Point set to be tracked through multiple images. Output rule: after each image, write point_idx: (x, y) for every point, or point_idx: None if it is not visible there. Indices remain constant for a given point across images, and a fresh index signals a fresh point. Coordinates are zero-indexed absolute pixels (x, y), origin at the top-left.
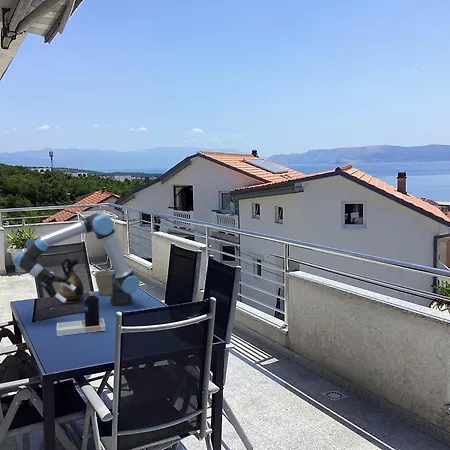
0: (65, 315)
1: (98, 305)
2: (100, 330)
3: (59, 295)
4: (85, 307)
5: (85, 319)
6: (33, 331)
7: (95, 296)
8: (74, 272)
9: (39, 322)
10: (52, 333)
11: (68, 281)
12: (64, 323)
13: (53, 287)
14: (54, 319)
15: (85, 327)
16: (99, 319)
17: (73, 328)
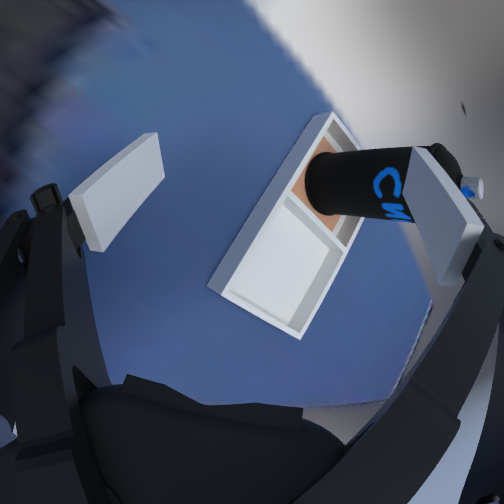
0: (38, 112)
1: None
2: None
3: (111, 186)
4: (407, 221)
5: (353, 215)
6: (149, 378)
7: (461, 173)
8: None
9: None
10: (238, 327)
11: (486, 231)
12: (244, 262)
13: (64, 281)
14: None
15: (354, 238)
16: (328, 126)
17: (332, 278)
